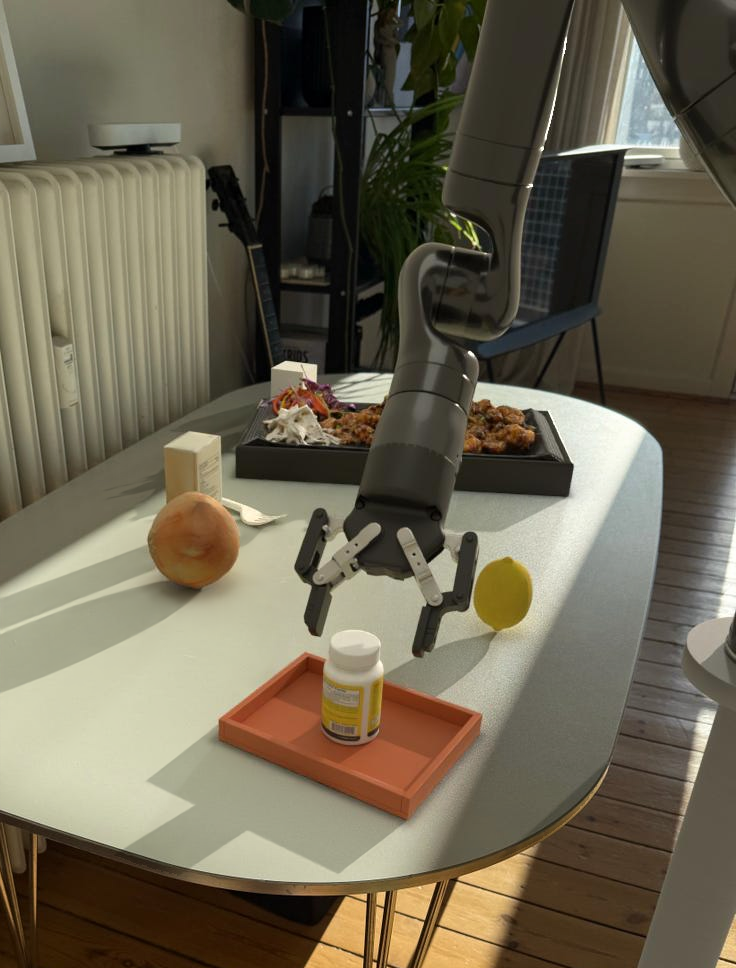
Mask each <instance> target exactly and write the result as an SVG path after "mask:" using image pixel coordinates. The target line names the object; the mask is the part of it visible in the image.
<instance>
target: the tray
mask: <svg viewBox="0 0 736 968" xmlns="http://www.w3.org/2000/svg"><path fill="white" fill-rule="evenodd" d="M327 659H328V658H324V657H321V656H318V655H316V654H313V653H310V652H307V651H305V652H303V653H301V654H300V655H299V656H298V657H297V658H295V659H294V660H293V661H292V662H290V663H289V664H287V665H286V666H284V668H283V669H281V670H280V671H279V672H277V673H276V674H275V675H274V676H272V677H271V678H269V679H268V680H266V682H264V683H263V684H262V685H260V686H259V687H258V688H257V689H256V690H254V691H253V692H251V693H250V694H249V695H248V696H247V697H245V698H244V699H243V700H241V701H240V702H238V703H237V704H235V706H233V707H232V708H231V709H230V710H229V711H227V712H226V713H225V714H224V715H222V716H220V717H219V718H218V720H217V722H218V723H217V724H218V740H220V741H222V742H223V743H226V744H228V745H231V746H233V747H236V748H238V749H241V750H243V751H245V752H247V753H250V754H253V755H255V756H257V757H259V758H261V759H264V760H266V761H268V762H271V763H273V764H275V765H278V766H280V767H281V768H284V769H287V770H290V771H292V772H294V773H296V774H299V775H301V776H303V777H306V778H308V779H311V780H313V781H315V782H317V783H319V784H322V785H324V786H327V787H329V788H331V789H333V790H335V791H338V792H340V793H343V794H345V795H348V796H350V797H353V798H354V799H357V800H358V801H362V802H364V803H366V804H369V805H371V806H373V807H376V808H378V809H380V810H381V811H382V810H383V811H385V812H387V813H388V814H389V813H390V814H391V815H393V816H397V817H398V818H402V819H404V820H405V821H408V820H409V819H410V818H411V816H412V815H413V814H414V813H415V811H417V809H418V808H419V807H420V806H421V805H422V803H423V802H424V801H425V800H426V798H427V797H428V796H429V795H430V794H431V792H433V790H434V789H435V788H436V787H437V785H439V783H440V782H441V781H442V779H443V778H444V777H445V776H446V775H447V774H448V772H449V771H450V770H451V769H452V768H453V766H454V765H455V764H456V763H457V761H458V760H459V759H460V758H461V757H462V756H463V754H465V752H466V751H467V750H468V749H469V747H470V746H471V744H472V743H474V741H475V740H476V739H477V738H478V736H479V735H480V734H481V727H482V721H483V713H481V712H478V711H475V710H472V709H470V708H467V707H464V706H461V705H458V704H455V703H452V702H449V701H447V700H443V699H441V698H438V697H436V696H432V695H430V694H426V693H424V692H421V691H419V690H416V689H413V688H410V687H407V686H404V685H402V684H398V683H396V682H394V681H393V682H392V681H390V680H387V679H385V678H383V686H382V699H381V712H380V724H379V732H378V734H377V736H376V737H375V738H374V739H373V740H371V741H369V742H367V743H364V744H360V745H343V744H339V743H336V742H334V741H332V740H331V739H329V738H328V737H327V736H326V735H325V734H324V733H323V731H322V726H321V722H322V695H323V670H324V664H325V661H326V660H327Z"/></svg>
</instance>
